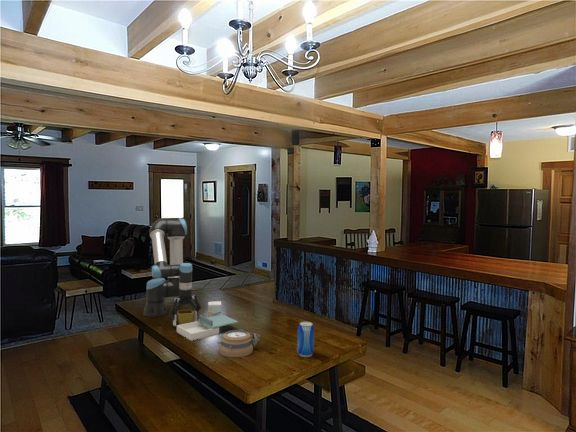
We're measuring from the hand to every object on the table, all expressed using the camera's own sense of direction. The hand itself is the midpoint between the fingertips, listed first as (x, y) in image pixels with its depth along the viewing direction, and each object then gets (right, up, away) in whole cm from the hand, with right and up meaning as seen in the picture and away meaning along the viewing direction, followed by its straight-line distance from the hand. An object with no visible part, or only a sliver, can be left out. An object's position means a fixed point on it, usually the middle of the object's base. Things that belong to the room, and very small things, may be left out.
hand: (185, 323), depth 236 cm
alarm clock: (+38, -4, -34) cm, 51 cm away
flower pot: (0, -2, 0) cm, 2 cm away
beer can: (+72, -5, -39) cm, 82 cm away
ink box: (+16, -2, +12) cm, 20 cm away
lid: (+21, +2, -3) cm, 21 cm away
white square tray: (+11, -3, -12) cm, 16 cm away
